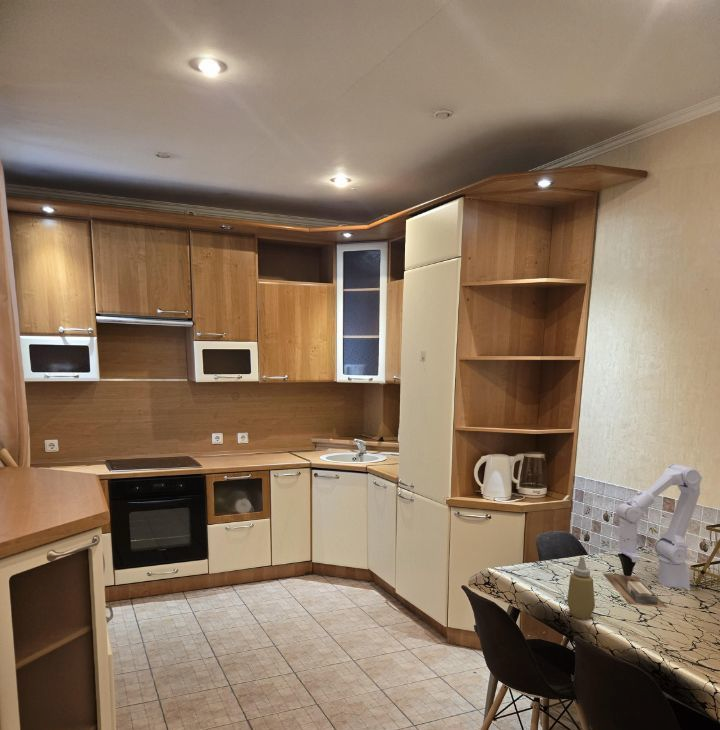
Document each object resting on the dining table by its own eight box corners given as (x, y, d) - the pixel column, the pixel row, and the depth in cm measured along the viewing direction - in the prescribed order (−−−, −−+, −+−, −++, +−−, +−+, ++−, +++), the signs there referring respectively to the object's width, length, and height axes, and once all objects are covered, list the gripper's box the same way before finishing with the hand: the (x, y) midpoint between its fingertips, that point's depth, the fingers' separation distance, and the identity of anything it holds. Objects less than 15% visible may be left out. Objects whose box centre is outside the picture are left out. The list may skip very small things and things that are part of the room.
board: (635, 578, 191) (636, 569, 191) (668, 610, 165) (668, 599, 165) (602, 575, 193) (602, 567, 193) (629, 606, 167) (629, 596, 167)
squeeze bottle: (560, 611, 161) (562, 554, 162) (579, 607, 165) (581, 551, 165) (581, 623, 154) (582, 563, 154) (600, 619, 157) (602, 560, 158)
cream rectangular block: (639, 590, 178) (639, 582, 178) (652, 603, 168) (652, 594, 168) (627, 589, 179) (627, 580, 179) (639, 602, 169) (639, 592, 169)
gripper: (609, 530, 192) (608, 566, 192) (624, 543, 178) (623, 582, 178) (629, 532, 191) (628, 568, 191) (645, 544, 177) (644, 584, 177)
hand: (627, 575), depth 184 cm, fingers closed
